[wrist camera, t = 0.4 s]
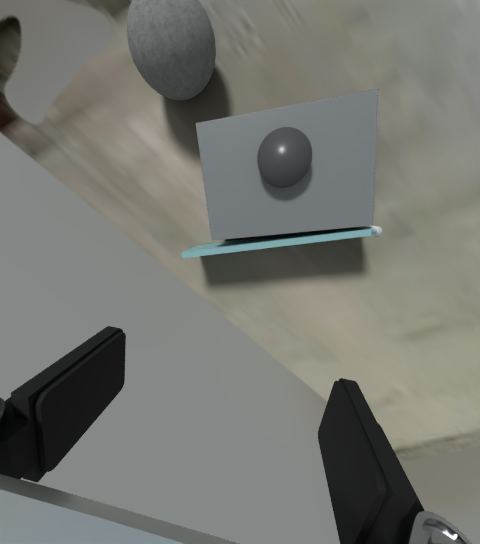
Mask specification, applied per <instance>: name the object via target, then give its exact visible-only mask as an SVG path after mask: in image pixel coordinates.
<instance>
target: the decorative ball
mask: <svg viewBox="0 0 480 544" xmlns="http://www.w3.org/2000/svg"><path fill="white" fill-rule="evenodd" d="M127 38H128V44H129V48H130V52H131V55H132V58H133V60H134V63H135V65H136V67H137V69H138V70H139V72H140V74H141V75H142V77H143V78H144V79H145V81H146V82H147V83H148V84H149V85H150V86H151V87H152V88H153V89H154V90H155V91H157V92H158V93H160V94H161V95H163V96H165V97H167V98H170V99H174V100H187V99H190V98H193V97H195V96H196V95H198V94H199V93H200V92H201V91H202V90H203V89H204V88H205V87H206V85H207V84H208V82H209V80H210V78H211V76H212V73H213V69H214V65H215V56H216V48H215V38H214V33H213V29H212V26H211V23H210V20H209V18H208V15H207V13H206V11H205V9H204V8H203V6H202V5H201V3H200V2H199V0H132V2H131V5H130V7H129V11H128V17H127Z"/></svg>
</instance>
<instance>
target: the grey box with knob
mask: <svg viewBox="0 0 480 544" xmlns="http://www.w3.org/2000/svg"><path fill="white" fill-rule="evenodd" d="M377 112H378V89H374V90H368V91H363V92H358V93H353V94H347V95H342V96H337V97H331V98H326V99H321V100H316V101H310V102H305V103H300V104H294V105H289V106H284V107H279V108H273V109H268V110H263V111H257V112H252V113H247V114H242V115H236V116H231V117H226V118H220V119H215V120H210V121H205V122H199V123H196V130H197V137H198V144H199V151H200V159H201V166H202V173H203V180H204V187H205V195H206V202H207V209H208V216H209V223H210V230H211V238H212V240H223V239H233V238H244V237H254V236H265V235H276V234H286V233H297V232H308V231H318V230H329V229H339V228H350V227H361V226H371V225H373V219H374V193H375V166H376V139H377Z"/></svg>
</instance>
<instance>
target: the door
mask: <svg viewBox="0 0 480 544" xmlns="http://www.w3.org/2000/svg"><path fill="white" fill-rule="evenodd" d="M381 233H382V229H381V228H380V227H377V226H361V227H350V228H339V229H329V230H318V231H308V232H298V233H290V234H282V235H275V236H267V237H259V238H251V239H243V240H236V241H228V242H220V243H212V244H204V245H197V246H195V247H193V248H191V249H188V250H186V251H184V252H182V258H189V257H197V256H205V255H214V254H222V253H231V252H239V251H247V250H256V249H264V248H273V247H281V246H289V245H298V244H306V243H314V242H323V241H331V240H340V239H348V238H356V237H365V236H374V237H378V236H380V235H381Z"/></svg>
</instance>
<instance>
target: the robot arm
mask: <svg viewBox="0 0 480 544" xmlns="http://www.w3.org/2000/svg"><path fill="white" fill-rule="evenodd" d="M125 339H126V336H125V333H123V330H122V329H120V328H115V327H110V326H108V327H106V328H105V329H103V330H102V331H100V332H99V333H97V334H96V335H94V336H93V337H91V338H90V339H89V340H87V341H86V342H84V343H83V344H81V345H80V346H78V347H77V348H76V349H74V350H73V351H71V352H70V353H68V354H67V355H65V356H64V357H62V358H61V359H59V360H58V361H57V362H55V363H54V364H52V365H51V366H49V367H48V368H46V369H45V370H44V371H42V372H41V373H39V374H38V375H36V376H35V377H34V378H32V379H30V380H29V381H27V382H26V383H25V384H23V385H22V386H21V387H19V388H17V389H16V390H14V391H13V392H12V393H11V397H10V398H8V399H7V400H6V401H4V400H3V399H2V398H0V544H238V543H235V542H232V541H229V540H225V539H222V538H219V537H216V536H212V535H209V534H206V533H202V532H199V531H196V530H192V529H189V528H186V527H182V526H179V525H175V524H172V523H169V522H165V521H162V520H159V519H155V518H152V517H148V516H145V515H142V514H138V513H135V512H132V511H128V510H125V509H122V508H118V507H115V506H111V505H108V504H104V503H101V502H98V501H94V500H91V499H87V498H84V497H80V496H77V495H73V494H70V493H66V492H63V491H59V490H56V489H53V488H49V487H46V486H42V485H38V484H35V483H31V482H27V481H24V480H20V479H21V478H22V477H23V478H24V479H27V480H31V481H34V482H38V481H39V480H40V479H41V478H42V477H43V476H44V475H45V473H46V472H47V471H48V472H49V471H51V470H53V469H54V468H55V467H56V466H57V465H58V463H59V462H60V461H61V460H62V458H64V456H65V455H66V454H67V453H68V452H69V451H70V449H71V448H72V447H73V446H74V445H75V443H76V442H77V441H78V440H79V439H80V438H81V436H82V435H83V434H84V433H85V432H86V431H87V429H88V428H89V427H90V426H91V425H92V423H93V422H94V421H95V420H96V419H97V417H98V416H99V415H100V414H101V413H102V412H103V411H104V409H105V408H106V407H107V406H108V405H109V404H110V402H111V401H112V400H113V399H114V398H115V397H116V395H117V394H118V393H119V392H120V391H121V389H122V387H123V385H124V376H125ZM318 439H319V444H320V450H321V454H322V459H323V464H324V469H325V473H326V478H327V483H328V487H329V492H330V497H331V502H332V507H333V511H334V516H335V520H336V525H337V530H338V535H339V540H340V544H472V543H471V542H470V541H469V540H468V538H467V537H466V536H465V535H464V534H463V533H462V532H461V531H460V530H459V529H458V528H457V527H455V526H454V525H453V524H452V523H450V522H449V521H447V520H446V519H445V518H443V517H442V516H440V515H437V514H435V513H433V512H429V511H424V509H423V507H422V505H421V503H420V501H419V499H418V497H417V495H416V493H415V491H414V490H413V487H412V486H411V484H410V482H409V480H408V478H407V476H406V474H405V472H404V470H403V468H402V466H401V464H400V462H399V460H398V458H397V457H396V455H395V453H394V451H393V449H392V447H391V445H390V443H389V441H388V439H387V437H386V435H385V433H384V431H383V430H382V428H381V426H380V425H379V424H378V423H377V421H376V419H375V417H374V415H373V413H372V412H371V410H370V408H369V406H368V404H367V402H366V400H365V398H364V396H363V394H362V392H361V390H360V388H359V386H358V384H357V383H356V382H355V381H352V380H347V379H343V378H341V379H339V381H335V382H334V385H333V388H332V391H331V394H330V397H329V400H328V403H327V406H326V409H325V412H324V415H323V418H322V421H321V424H320V427H319V431H318Z"/></svg>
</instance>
